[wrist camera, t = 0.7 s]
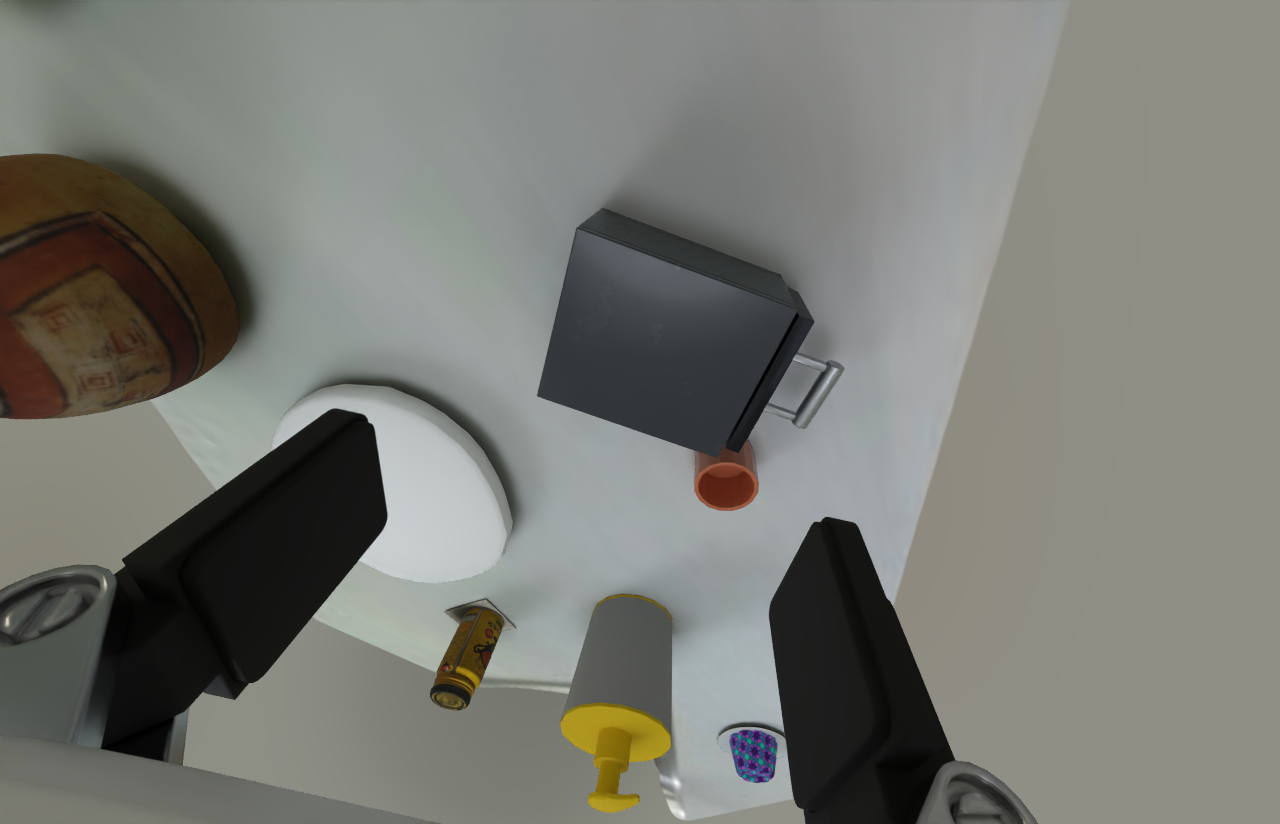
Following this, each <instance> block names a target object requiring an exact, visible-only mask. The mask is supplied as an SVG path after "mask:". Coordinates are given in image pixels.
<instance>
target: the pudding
mask: <svg viewBox="0 0 1280 824" xmlns="http://www.w3.org/2000/svg"><path fill="white" fill-rule="evenodd" d="M718 745H719V747H720V748H721V749H722V750H723V751H724V752H726V753H727V754H729V755H731V756H733V759H734V763H735V767H736V771H737V773H738V775H739V776H740V777H742V778H743V779H744V780H746V781H751V782H754V783H760V782H768V781H769V780H770V779H772V778H773V777H774V774H775V765H776V759H778V758H781V757H783V756H784V755H786V754H787V747H786V740H785V738H784V737H783V736H781V735H780V734H778V733H776V732H773V731H770V730H767V729H762V728H756V727H740V728H734V729H731V730H728V731H726V732H724V733H722V734H721V735H720V736H719V738H718Z"/></svg>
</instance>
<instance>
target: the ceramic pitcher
mask: <svg viewBox="0 0 1280 824" xmlns="http://www.w3.org/2000/svg"><path fill="white" fill-rule="evenodd" d="M239 329H240V319H239V314H238V310H237V307H236V303H235V300H234V299H233V297H232V295H231V293H230V290H229V286H228V284H227V282H226V280H225V278H224V275H223V273H222V271H221V270H220V268H219V267H218V266H217V264H216V263H215V262H214V261H213V259H212V258H211V257H210V253H209V252H208V251H207V250H206V249H205V247H204V246H203V245H202V244H201V243H200V242H199V241H198V240H197V239H196V238H195V237H194V236H193V235H192V234H191V233H190V232H189V230H188V229H187V228H186V227H185V226H184V225H183V224H182V223H181V222H179V221H178V220H177V219H176V217H175V216H174V215H173V214H172V213H171V212H170V211H169V210H168V209H167V208H166V207H165V206H163V205H162V204H161V203H160V202H158V201H157V200H156V199H154V198H153V197H151V196H150V195H149V194H147V193H146V192H145V191H143V190H142V189H140V188H139V187H137V186H136V185H134V184H133V183H132V182H130V181H129V180H127V179H125V178H124V177H122V176H121V175H119V174H117V173H116V172H114V171H112V170H109V169H106V168H103V167H100V166H98V165H95V164H92V163H90V162H87V161H85V160H81V159H76V158H72V157H69V156H63V155H57V154H23V155H10V156H2V157H0V418H9V419H47V418H66V417H74V416H81V415H88V414H94V413H100V412H106V411H110V410H113V409H117V408H121V407H124V406H128V405H132V404H135V403H139V402H142V401H146V400H150V399H153V398H156V397H159V396H161V395H164V394H166V393H168V392H171V391H173V390H175V389H177V388H180V387H182V386H184V385H186V384H188V383H190V382H192V381H194V380H196V379H197V378H199V377H200V376H202V375H203V374H205V373H206V372H208V371H209V370H211V369H212V368H213V367H215V366H216V365H217V364H218V363H220V362H221V361H222V360H223V359H224V358H225V357H226V355H227V354H228V353H229V352H230V350H231V349H232V347H233V346H234V344H235V343H236V341H237V337H238V333H239Z"/></svg>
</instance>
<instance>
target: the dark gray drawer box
mask: <svg viewBox="0 0 1280 824" xmlns="http://www.w3.org/2000/svg"><path fill="white" fill-rule="evenodd" d="M797 311H798V309H797V307H796V305H795V303H794V301H793V299H792V297H791V295H790V293H789V291H788V289H787V287H786V285H785V283H784V281H783V279H782V276H781V275H780V274H777V273H775V272H772V271H769V270H767V269H764V268H761V267H759V266H756V265H753V264H751V263H748V262H745V261H743V260H740V259H737V258H735V257H732V256H729V255H727V254H724V253H721V252H719V251H716V250H713V249H711V248H708V247H705V246H703V245H700V244H697V243H695V242H692V241H689V240H687V239H684V238H681V237H679V236H676V235H673V234H671V233H668V232H665V231H663V230H660V229H658V228H655V227H652V226H650V225H647V224H644V223H642V222H639V221H636V220H634V219H631V218H628V217H626V216H623V215H620V214H618V213H615V212H612V211H610V210H607V209H604V208H601V209H600V210H599V211H598V212H597V213H595V214H594V215H593V216H591V217H590V218H589V219H588V220H586V221H585V222H584V223H582V224H581V225H580V226H579V227H577V229H576V233H575V237H574V241H573V245H572V250H571V254H570V258H569V262H568V267H567V271H566V275H565V279H564V284H563V288H562V292H561V296H560V301H559V305H558V309H557V313H556V318H555V322H554V326H553V330H552V334H551V339H550V343H549V347H548V351H547V356H546V360H545V364H544V368H543V373H542V377H541V381H540V385H539V390H538V394H537V396H538V397H541V398H544V399H546V400H549V401H552V402H555V403H558V404H561V405H564V406H567V407H570V408H573V409H575V410H578V411H581V412H584V413H587V414H590V415H593V416H596V417H599V418H602V419H605V420H607V421H610V422H613V423H616V424H619V425H622V426H625V427H628V428H631V429H634V430H637V431H639V432H642V433H645V434H648V435H651V436H654V437H657V438H660V439H663V440H666V441H669V442H671V443H674V444H677V445H680V446H683V447H686V448H689V449H692V450H695V451H698V452H700V453H703V454H706V455H709V456H712V457H715V458H717V457H718V456H719V454H720V452H721V450H722V448H723V447H724V445H725V443H726V441H727V439H728V437H729V436H730V434H731V432H732V430H733V428H734V427H735V425H736V423H737V421H738V419H739V417H740V416H741V414H742V412H743V410H744V408H745V406H746V405H747V403H748V401H749V399H750V397H751V395H752V394H753V392H754V390H755V388H756V386H757V384H758V383H759V381H760V379H761V377H762V375H763V373H764V372H765V370H766V368H767V366H768V364H769V362H770V361H771V359H772V357H773V355H774V353H775V351H776V350H777V348H778V346H779V344H780V342H781V341H782V339H783V337H784V335H785V333H786V331H787V330H788V328H789V326H790V324H791V322H792V320H793V319H794V317H795V315H796V313H797Z"/></svg>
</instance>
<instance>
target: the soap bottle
mask: <svg viewBox="0 0 1280 824" xmlns="http://www.w3.org/2000/svg"><path fill="white" fill-rule="evenodd" d="M671 708H672V618H671V616H670V615H669V613H668V612H667V610H666V609H665V608H664V607H662V606H661V605H659V604H658V603H656V602H655V601H653V600H650V599H647V598H644V597H641V596H638V595H625V594H621V595H616V596H611V597H607V598H605V599H604V600H602V601H601V602H599V603H598V604H597V605H596V607H595V609H594V611H593V614H592V617H591V621H590V624H589V628H588V631H587V634H586V638H585V641H584V644H583V648H582V651H581V654H580V658H579V661H578V664H577V668H576V671H575V674H574V678H573V681H572V685H571V688H570V691H569V695H568V698H567V702H566V705H565V708H564V712H563V715H562V718H561V723H560V725H561V729H562V732H563V735H564V736H565V737H566V738H567V739H568V740H569V741H570V742H571V743H572V744H573V745H575V746H577V747H578V748H580V749H582V750H584V751H586V752H588V753H590V754H593V755H595V757H594V765H595V766H596V767H597V768H599V769H600V770H599V777H598V783H597V788H596V792H593V793H591V794H589V796H588V803H589V804H590V805H591V806H592V807H593V808H594V809H596V810H599V811H603V812H609V813H610V812H618V811H621V810H624V809H627V808H630V807H632V806H634V805H636V804H638V803H639V802H640V799H639V795H637V794H631V795H619V794H618V786H619V779H620V773H623V772H626V771H627V770H628V765H629V762H635V761H649V760H651V759H654V758H657V757H660V756H663V755H664V754H665V753H666V752H667V751H668V749H669V748H670V747H671Z"/></svg>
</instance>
